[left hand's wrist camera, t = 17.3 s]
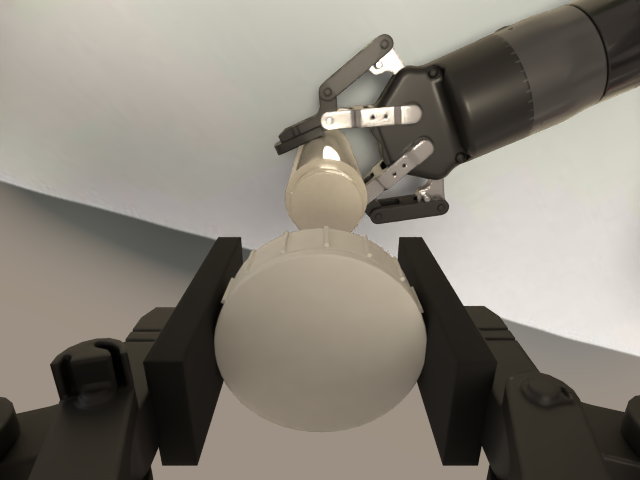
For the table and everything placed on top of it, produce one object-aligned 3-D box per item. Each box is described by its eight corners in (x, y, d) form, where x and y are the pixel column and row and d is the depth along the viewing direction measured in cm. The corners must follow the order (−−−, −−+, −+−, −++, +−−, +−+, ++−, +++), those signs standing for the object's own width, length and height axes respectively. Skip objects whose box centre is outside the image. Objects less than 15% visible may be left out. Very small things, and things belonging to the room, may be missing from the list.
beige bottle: (351, 125, 37) (372, 164, 22) (349, 178, 39) (368, 248, 23) (297, 125, 37) (281, 164, 22) (298, 178, 39) (283, 248, 23)
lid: (188, 284, 12) (167, 319, 10) (357, 189, 11) (364, 210, 9) (291, 412, 14) (287, 460, 12) (445, 341, 13) (463, 382, 11)
